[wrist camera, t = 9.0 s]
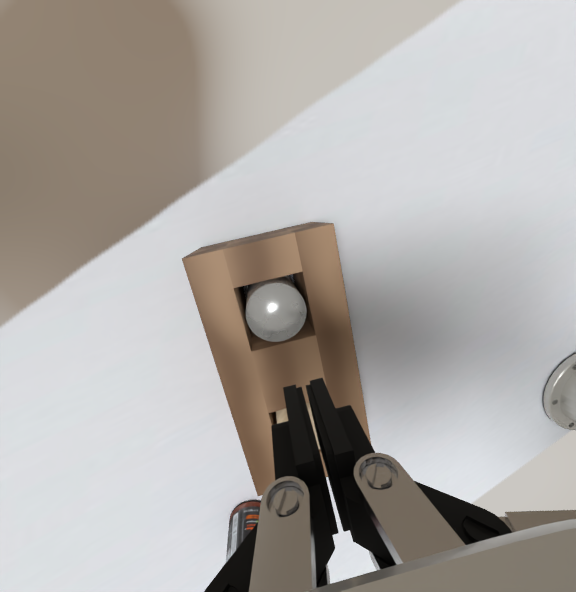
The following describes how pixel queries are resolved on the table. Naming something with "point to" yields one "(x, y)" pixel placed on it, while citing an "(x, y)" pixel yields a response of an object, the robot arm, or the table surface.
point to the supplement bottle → (241, 525)
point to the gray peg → (275, 309)
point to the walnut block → (285, 354)
